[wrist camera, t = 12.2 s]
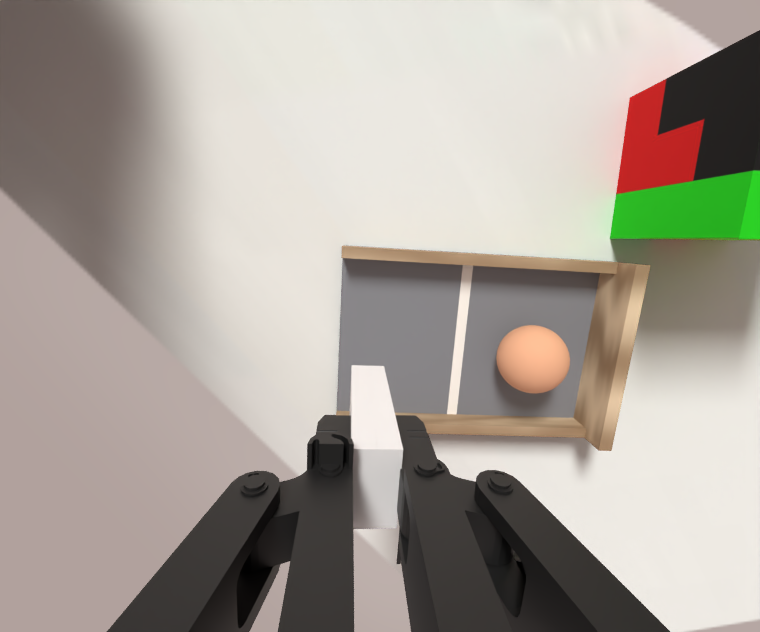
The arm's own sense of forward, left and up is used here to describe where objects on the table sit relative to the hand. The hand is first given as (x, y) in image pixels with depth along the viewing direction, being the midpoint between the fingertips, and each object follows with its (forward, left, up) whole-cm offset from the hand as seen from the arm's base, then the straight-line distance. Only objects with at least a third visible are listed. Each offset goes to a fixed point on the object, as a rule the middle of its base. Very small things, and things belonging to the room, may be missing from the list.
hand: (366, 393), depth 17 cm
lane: (+1, +9, -12) cm, 15 cm away
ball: (+1, +12, -9) cm, 15 cm away
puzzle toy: (-13, +24, -13) cm, 30 cm away
